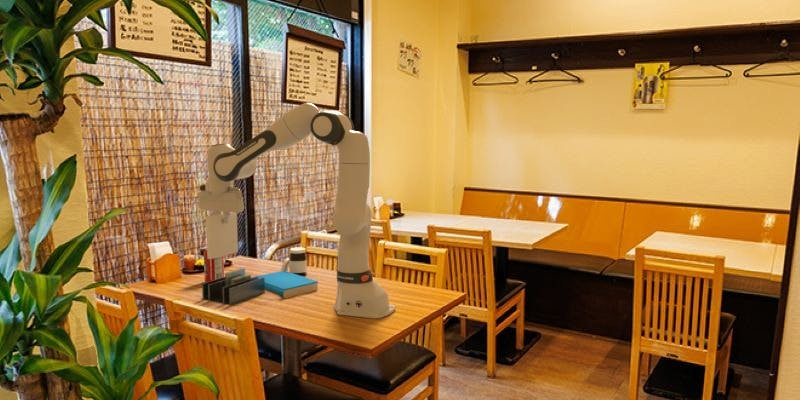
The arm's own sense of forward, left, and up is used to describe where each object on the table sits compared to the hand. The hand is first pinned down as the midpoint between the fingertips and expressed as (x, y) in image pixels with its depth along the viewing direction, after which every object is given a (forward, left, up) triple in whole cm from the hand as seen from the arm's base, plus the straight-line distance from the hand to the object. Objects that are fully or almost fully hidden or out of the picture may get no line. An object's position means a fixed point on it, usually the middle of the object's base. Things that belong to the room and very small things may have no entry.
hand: (222, 222), depth 207 cm
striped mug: (-1, -41, -29) cm, 50 cm away
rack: (-5, 0, -29) cm, 29 cm away
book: (-11, -21, -30) cm, 38 cm away
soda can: (+19, -13, -29) cm, 37 cm away
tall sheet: (0, 0, -13) cm, 13 cm away
